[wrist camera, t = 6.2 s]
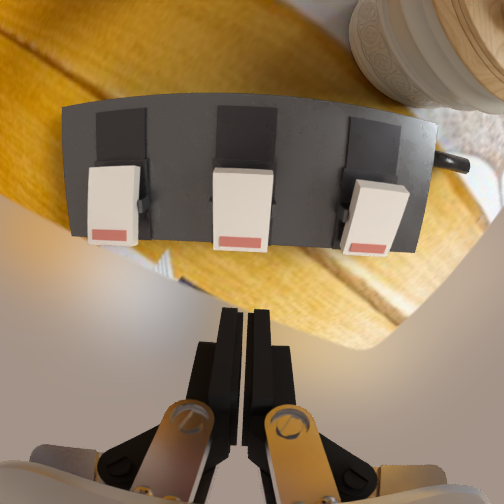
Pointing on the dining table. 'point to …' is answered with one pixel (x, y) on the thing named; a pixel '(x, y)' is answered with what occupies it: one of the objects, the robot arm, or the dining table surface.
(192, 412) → the robot arm
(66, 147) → the switch box
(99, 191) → the rocker
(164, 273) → the dining table surface
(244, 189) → the rocker
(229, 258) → the dining table surface
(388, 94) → the jar
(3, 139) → the dining table surface
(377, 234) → the rocker
